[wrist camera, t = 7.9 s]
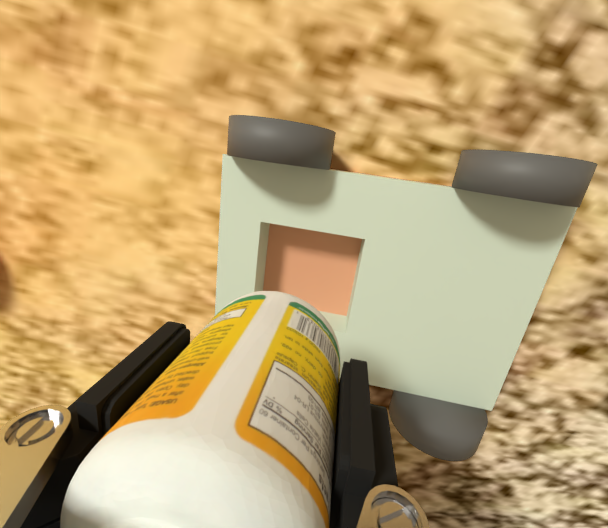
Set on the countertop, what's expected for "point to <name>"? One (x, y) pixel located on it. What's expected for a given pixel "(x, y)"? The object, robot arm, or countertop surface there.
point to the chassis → (400, 263)
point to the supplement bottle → (224, 430)
